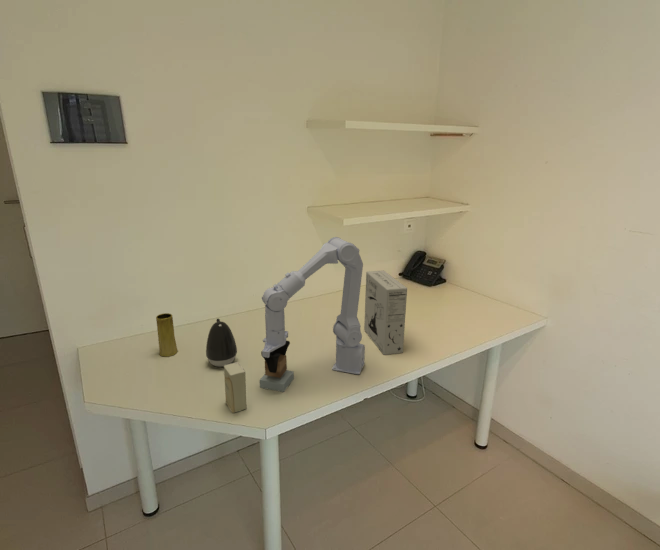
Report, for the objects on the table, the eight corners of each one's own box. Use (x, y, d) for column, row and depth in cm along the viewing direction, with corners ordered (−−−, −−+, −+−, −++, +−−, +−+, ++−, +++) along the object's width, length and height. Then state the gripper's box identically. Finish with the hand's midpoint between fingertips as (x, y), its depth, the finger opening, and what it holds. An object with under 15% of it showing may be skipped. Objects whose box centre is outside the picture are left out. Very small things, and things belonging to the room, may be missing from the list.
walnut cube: (286, 369, 128) (286, 355, 127) (280, 377, 124) (279, 363, 122) (272, 367, 130) (271, 353, 128) (265, 375, 125) (264, 360, 124)
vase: (175, 356, 143) (171, 319, 139) (157, 357, 142) (152, 320, 138) (179, 348, 149) (175, 312, 145) (161, 349, 148) (156, 313, 144)
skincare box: (225, 402, 118) (222, 365, 114) (240, 397, 120) (237, 361, 116) (232, 414, 113) (229, 375, 109) (247, 409, 115) (245, 371, 111)
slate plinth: (293, 379, 130) (293, 371, 129) (283, 393, 123) (283, 384, 122) (271, 375, 133) (270, 367, 132) (259, 388, 125) (259, 379, 124)
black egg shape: (235, 353, 146) (232, 314, 141) (239, 367, 136) (237, 325, 132) (205, 358, 142) (202, 317, 138) (208, 372, 133) (204, 330, 128)
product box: (363, 330, 165) (366, 271, 158) (381, 328, 167) (384, 270, 160) (383, 355, 145) (387, 289, 138) (403, 353, 147) (407, 287, 140)
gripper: (273, 316, 130) (274, 354, 134) (251, 335, 117) (254, 377, 121) (293, 319, 128) (294, 358, 132) (274, 339, 115) (275, 381, 119)
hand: (276, 367), depth 126 cm, fingers closed on walnut cube, 5 cm apart
